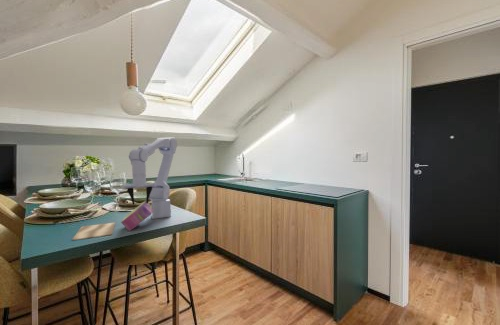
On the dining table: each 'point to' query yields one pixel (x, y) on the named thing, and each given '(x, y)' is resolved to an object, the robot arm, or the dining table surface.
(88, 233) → the wooden board
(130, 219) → the box
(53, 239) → the dining table surface
